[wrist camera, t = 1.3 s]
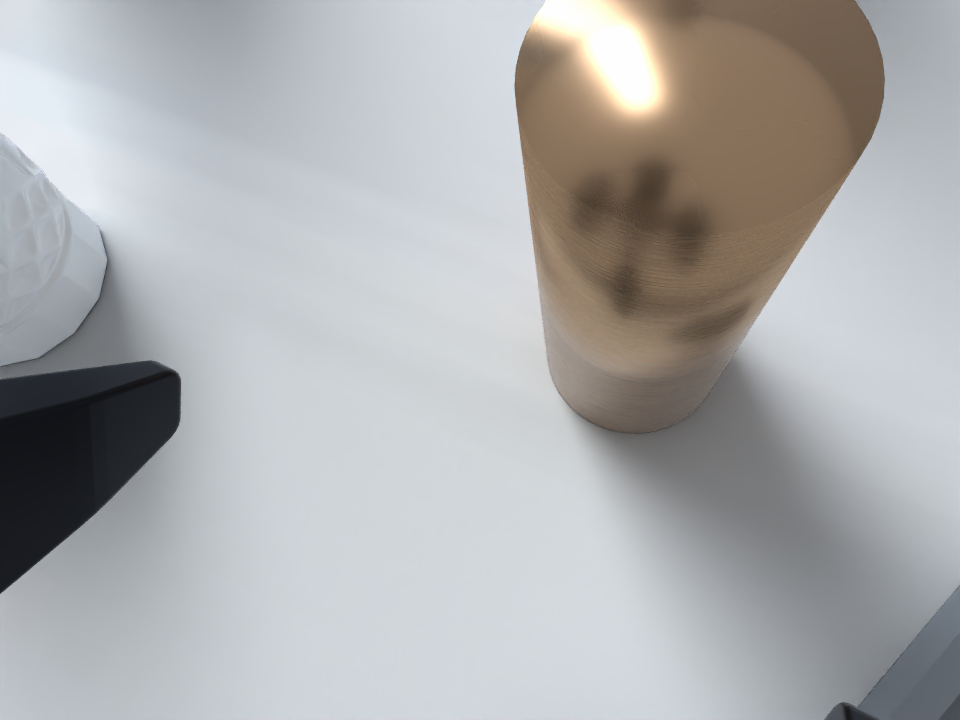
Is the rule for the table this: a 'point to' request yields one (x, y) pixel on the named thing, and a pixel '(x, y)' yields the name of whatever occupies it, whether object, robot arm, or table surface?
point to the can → (679, 180)
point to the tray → (924, 673)
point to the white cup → (42, 260)
